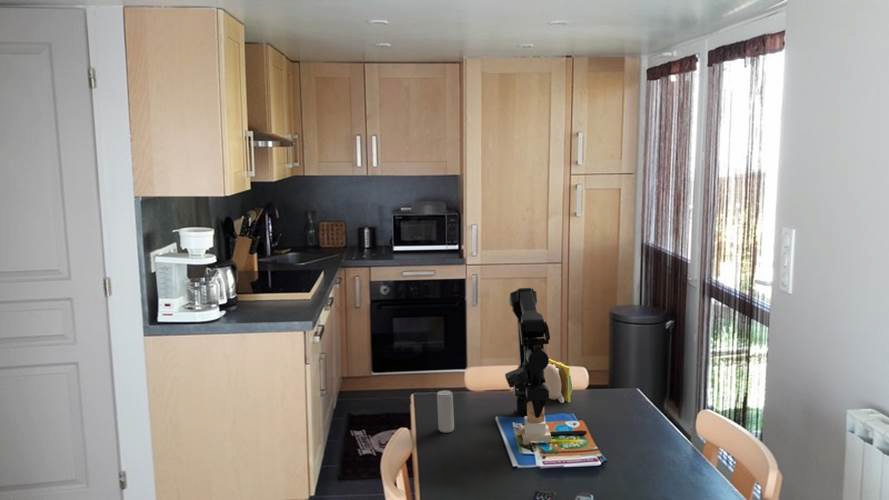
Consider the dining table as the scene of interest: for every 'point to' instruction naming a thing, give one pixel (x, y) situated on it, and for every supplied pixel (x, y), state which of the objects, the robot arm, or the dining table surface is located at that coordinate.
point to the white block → (535, 427)
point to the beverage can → (445, 411)
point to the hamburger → (558, 381)
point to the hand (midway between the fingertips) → (535, 411)
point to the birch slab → (536, 436)
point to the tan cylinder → (533, 414)
